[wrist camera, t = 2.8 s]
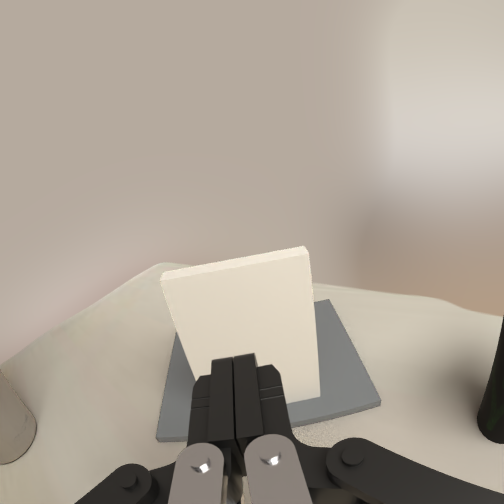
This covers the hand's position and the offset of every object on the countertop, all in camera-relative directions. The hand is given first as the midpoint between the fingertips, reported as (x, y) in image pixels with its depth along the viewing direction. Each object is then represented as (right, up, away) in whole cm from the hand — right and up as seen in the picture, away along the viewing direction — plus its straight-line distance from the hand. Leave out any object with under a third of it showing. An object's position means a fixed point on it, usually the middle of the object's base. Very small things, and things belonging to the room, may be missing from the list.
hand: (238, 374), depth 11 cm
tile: (+2, -9, +16) cm, 18 cm away
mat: (+1, -8, +22) cm, 23 cm away
